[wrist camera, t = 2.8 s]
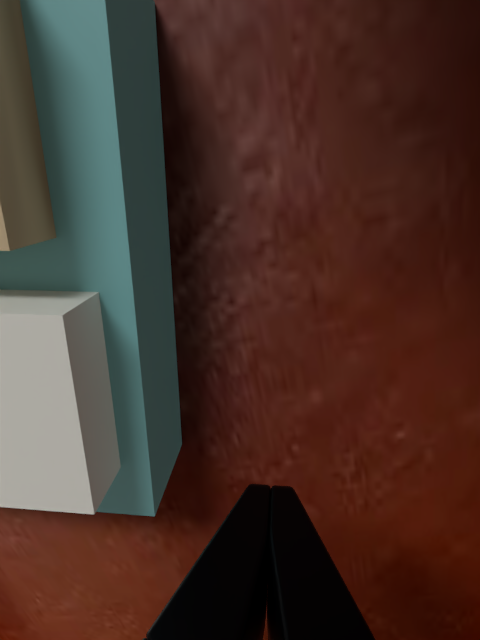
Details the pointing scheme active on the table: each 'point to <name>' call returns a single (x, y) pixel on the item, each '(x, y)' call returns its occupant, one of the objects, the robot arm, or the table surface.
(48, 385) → the white box
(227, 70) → the table surface
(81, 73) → the plate
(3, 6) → the oak tile
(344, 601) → the robot arm
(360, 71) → the table surface
